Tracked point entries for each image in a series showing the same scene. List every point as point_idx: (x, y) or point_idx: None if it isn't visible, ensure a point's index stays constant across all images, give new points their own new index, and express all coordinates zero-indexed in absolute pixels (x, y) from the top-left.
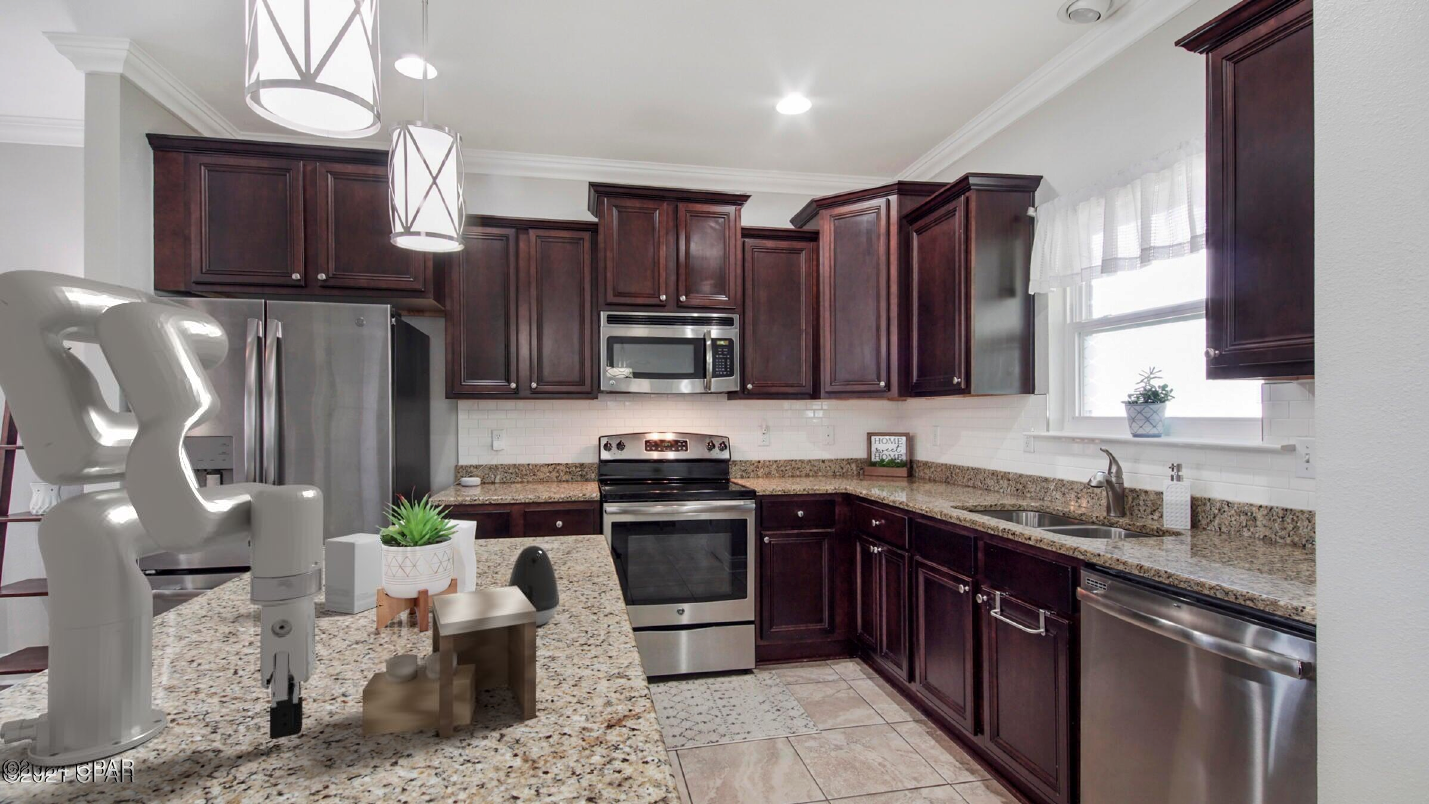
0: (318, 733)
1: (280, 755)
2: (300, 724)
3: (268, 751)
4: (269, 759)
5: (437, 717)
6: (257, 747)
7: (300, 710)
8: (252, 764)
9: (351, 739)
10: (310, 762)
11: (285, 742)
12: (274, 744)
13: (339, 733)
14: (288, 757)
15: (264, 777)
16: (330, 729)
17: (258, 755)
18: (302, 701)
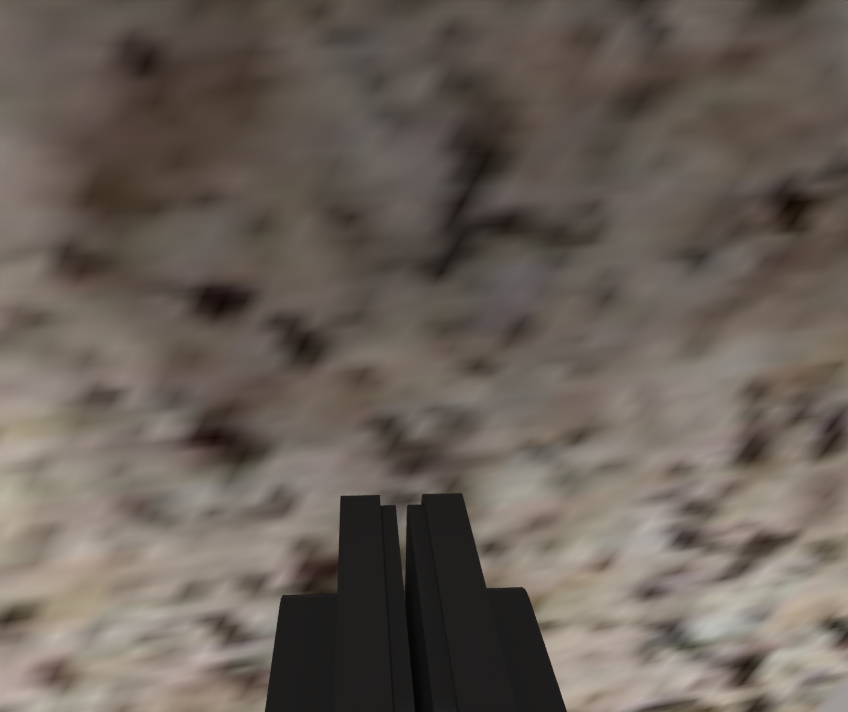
0: (240, 326)
1: (504, 534)
2: (468, 534)
3: None
4: (527, 586)
5: None
6: None
7: (497, 636)
8: None
9: (519, 42)
10: (747, 339)
11: (296, 533)
12: (294, 593)
13: (328, 153)
14: (569, 483)
15: (769, 573)
16: (198, 235)
17: None
18: (351, 677)
